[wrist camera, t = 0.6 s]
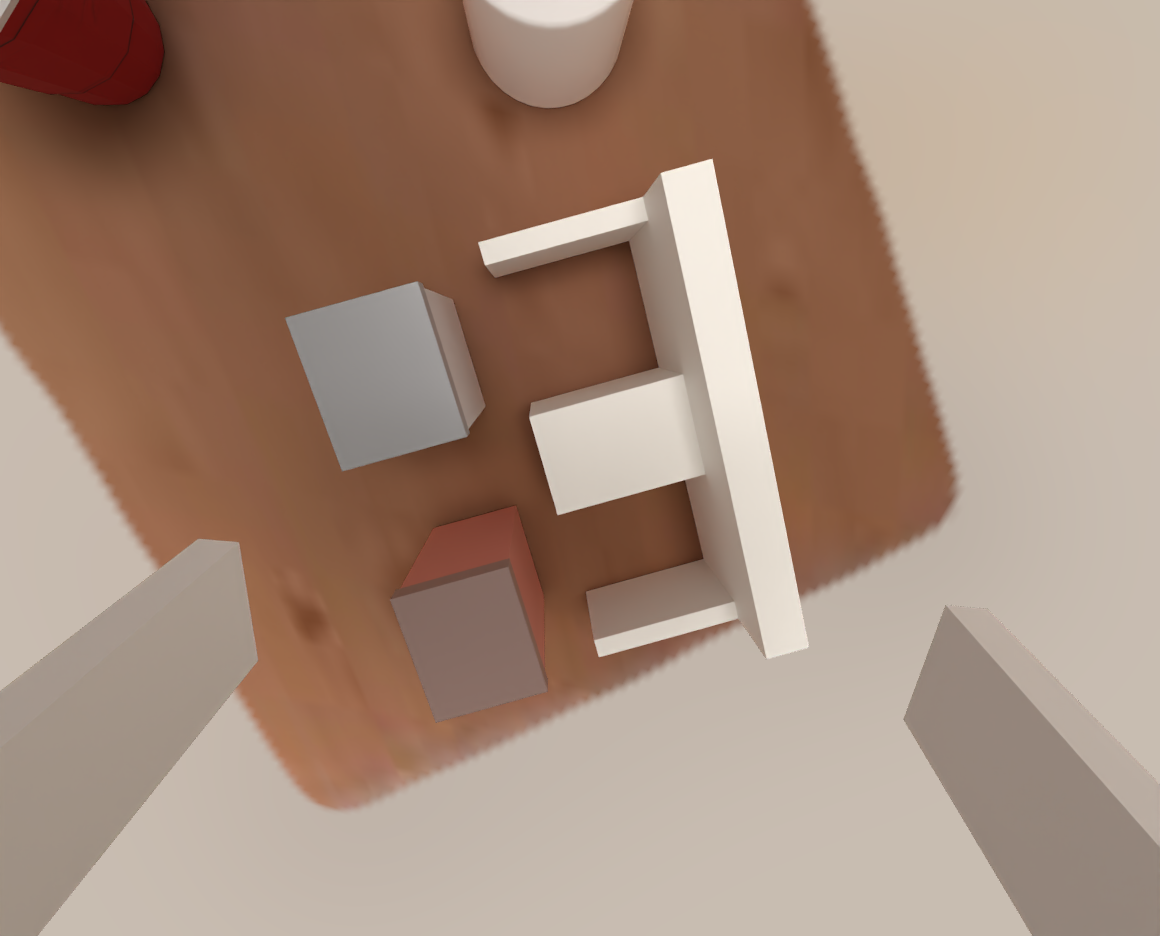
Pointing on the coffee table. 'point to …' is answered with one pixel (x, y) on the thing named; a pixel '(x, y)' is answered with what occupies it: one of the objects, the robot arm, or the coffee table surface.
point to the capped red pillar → (474, 615)
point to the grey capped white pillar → (388, 373)
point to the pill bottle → (547, 46)
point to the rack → (672, 422)
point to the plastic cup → (81, 48)
